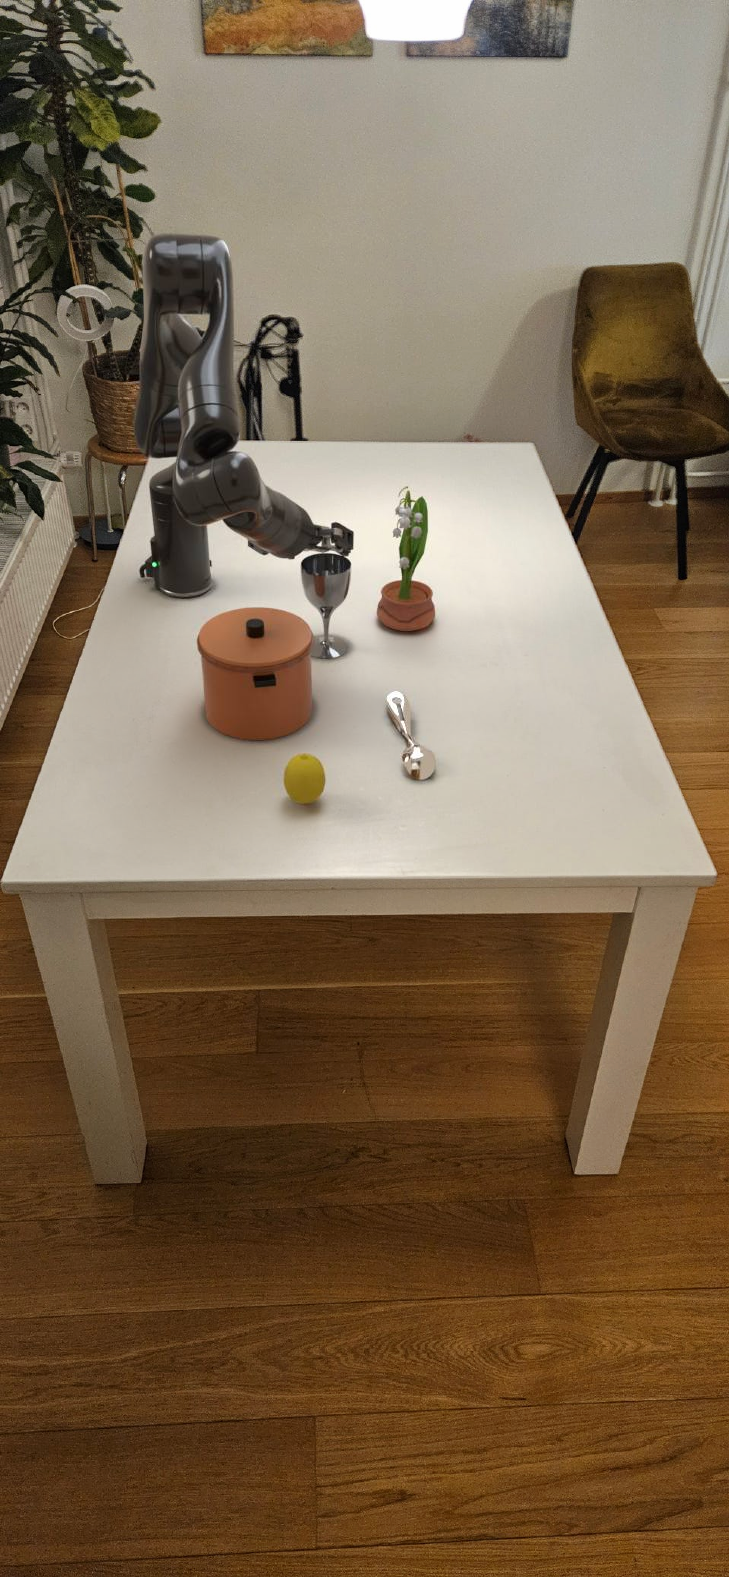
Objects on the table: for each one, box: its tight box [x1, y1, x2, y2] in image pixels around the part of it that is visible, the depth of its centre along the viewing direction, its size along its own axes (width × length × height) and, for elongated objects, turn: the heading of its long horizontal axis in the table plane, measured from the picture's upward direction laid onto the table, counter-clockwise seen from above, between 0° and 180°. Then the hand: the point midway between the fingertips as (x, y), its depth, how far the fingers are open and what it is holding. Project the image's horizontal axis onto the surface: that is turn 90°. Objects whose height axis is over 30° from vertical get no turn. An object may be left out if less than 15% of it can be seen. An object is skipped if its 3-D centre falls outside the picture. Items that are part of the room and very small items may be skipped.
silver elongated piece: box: [385, 691, 437, 781], centre depth 159 cm, size 20×4×5 cm
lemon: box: [283, 753, 326, 805], centre depth 146 cm, size 6×6×8 cm
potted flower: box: [376, 485, 436, 632], centre depth 180 cm, size 12×10×25 cm
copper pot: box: [196, 606, 315, 741], centre depth 161 cm, size 17×19×15 cm
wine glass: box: [300, 552, 352, 660], centre depth 176 cm, size 8×8×15 cm
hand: (319, 551), depth 161 cm, fingers open, 8 cm apart
